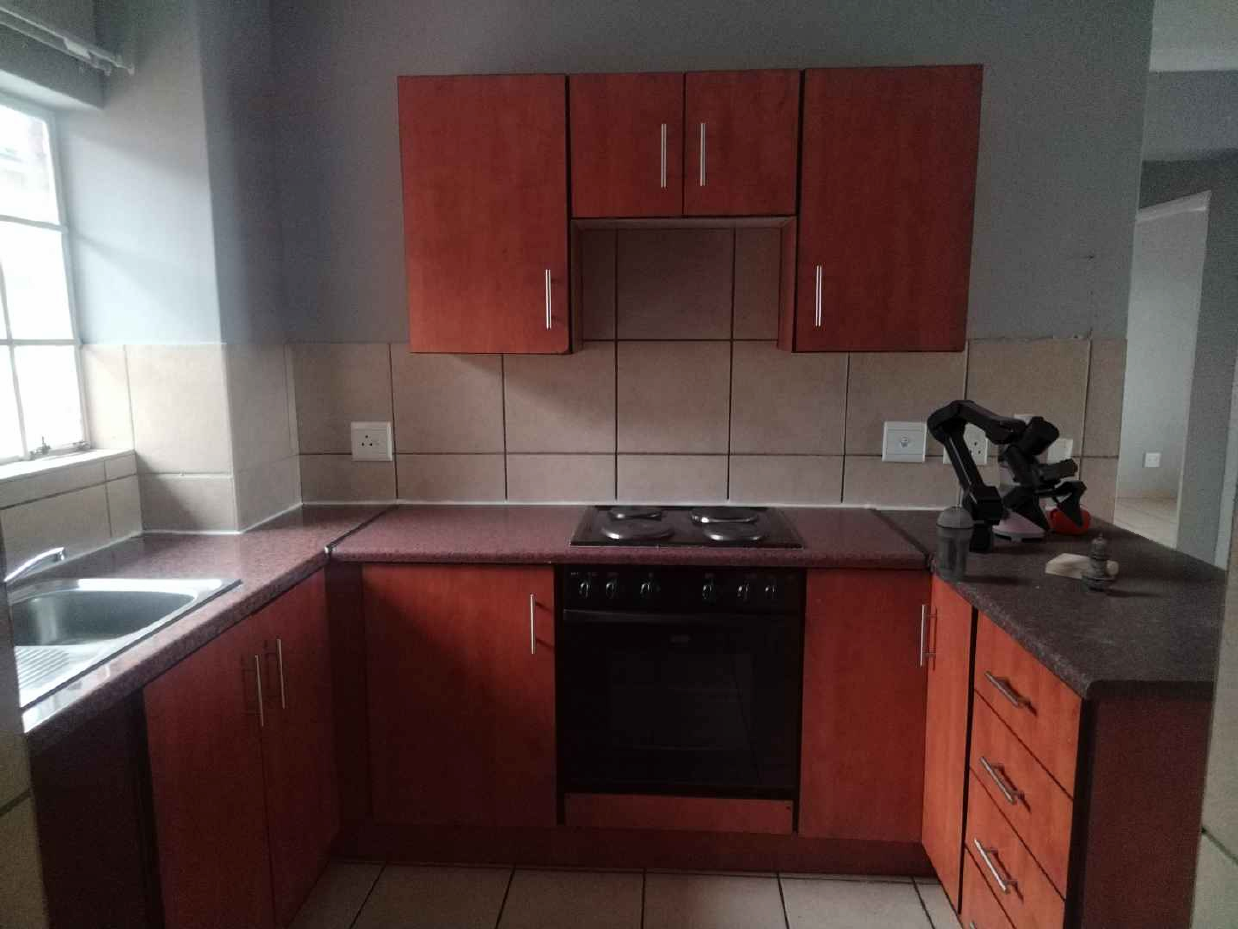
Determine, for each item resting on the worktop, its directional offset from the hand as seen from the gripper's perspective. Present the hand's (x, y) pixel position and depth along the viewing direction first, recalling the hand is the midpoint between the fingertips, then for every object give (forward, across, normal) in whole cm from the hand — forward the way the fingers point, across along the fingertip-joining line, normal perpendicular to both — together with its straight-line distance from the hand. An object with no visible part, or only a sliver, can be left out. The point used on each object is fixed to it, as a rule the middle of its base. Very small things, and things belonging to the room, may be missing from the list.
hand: (1065, 528), depth 156 cm
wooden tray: (+7, +8, +9) cm, 14 cm away
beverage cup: (+2, -21, +14) cm, 25 cm away
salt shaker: (+14, -1, +1) cm, 14 cm away
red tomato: (-12, +40, +31) cm, 52 cm away
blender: (-13, +21, +31) cm, 39 cm away
